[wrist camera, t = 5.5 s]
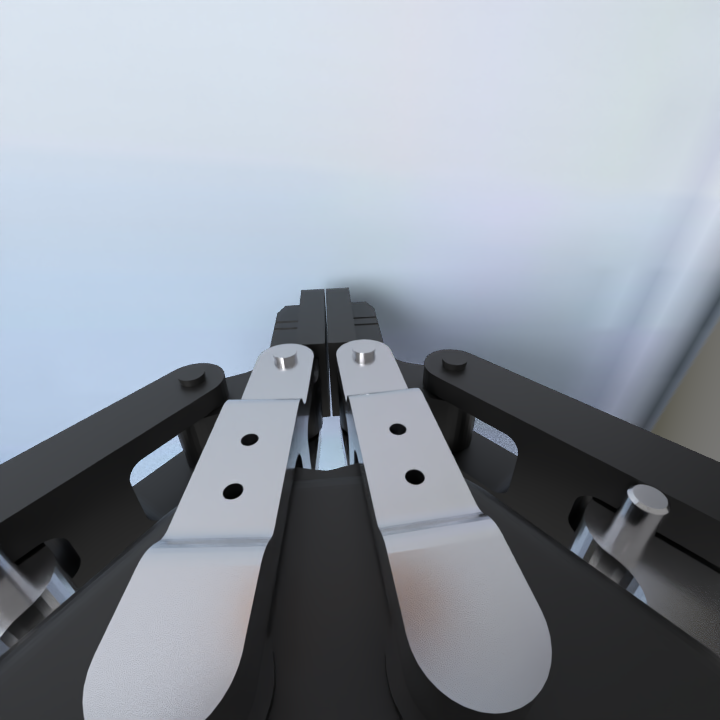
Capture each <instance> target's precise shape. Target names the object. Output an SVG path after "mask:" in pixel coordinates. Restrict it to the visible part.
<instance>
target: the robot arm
mask: <svg viewBox="0 0 720 720" xmlns="http://www.w3.org/2000/svg"><path fill="white" fill-rule="evenodd" d="M326 303H327V321H326V307H325V293H324V289H314V290H301V298H300V305H294V306H285V307H284V308H283V309H282V310H281V311H280V312H278V313H277V318H276V323H275V327H274V332H273V336H272V341H271V346H270V348H268V349H266V350H265V351H263V352H262V353H261V354H260V355H259V356H258V358H257V361H256V363H255V366H254V368H253V370H252V371H249V372H247V373H243V374H240V375H236V376H231V377H227V378H225V374H224V371H223V369H222V368H221V367H219V366H217V365H214V364H209V363H198V364H192V365H188V366H184V367H181V368H179V369H177V370H175V371H173V372H171V373H169V374H167V375H165V376H164V377H162V378H160V379H158V380H156V381H154V382H152V383H151V384H149V385H147V386H145V387H143V388H141V389H139V390H138V391H136V392H134V393H132V394H130V395H128V396H127V397H125V398H123V399H121V400H119V401H117V402H115V403H114V404H112V405H110V406H108V407H106V408H104V409H102V410H101V411H99V412H97V413H95V414H93V415H91V416H90V417H88V418H86V419H84V420H82V421H80V422H78V423H77V424H75V425H73V426H71V427H69V428H67V429H65V430H64V431H62V432H60V433H58V434H56V435H54V436H53V437H51V438H49V439H47V440H45V441H43V442H41V443H40V444H38V445H36V446H34V447H32V448H30V449H28V450H27V451H25V452H23V453H21V454H19V455H17V456H16V457H14V458H12V459H10V460H8V461H6V462H4V463H3V464H1V465H0V720H720V462H718V461H715V460H713V459H711V458H708V457H706V456H704V455H702V454H699V453H697V452H695V451H692V450H690V449H688V448H685V447H683V446H681V445H679V444H676V443H674V442H672V441H669V440H667V439H665V438H662V437H660V436H658V435H655V434H653V433H651V432H649V431H647V430H644V429H642V428H640V427H637V426H635V425H633V424H630V423H628V422H626V421H624V420H621V419H619V418H617V417H614V416H612V415H610V414H608V413H605V412H603V411H601V410H598V409H596V408H594V407H591V406H589V405H587V404H585V403H582V402H580V401H578V400H575V399H573V398H571V397H569V396H566V395H564V394H562V393H559V392H557V391H555V390H552V389H550V388H548V387H546V386H543V385H541V384H539V383H536V382H534V381H532V380H530V379H527V378H525V377H523V376H520V375H518V374H516V373H514V372H511V371H509V370H507V369H504V368H502V367H500V366H497V365H495V364H493V363H491V362H488V361H486V360H484V359H481V358H479V357H477V356H475V355H472V354H470V353H467V352H464V351H459V350H439V351H436V352H433V353H431V354H429V355H428V356H427V357H426V359H425V362H424V365H418V364H411V363H406V362H402V361H399V360H397V359H395V358H394V356H393V354H392V351H391V349H390V348H389V347H388V346H387V345H385V344H384V343H383V339H382V336H381V332H380V328H379V325H378V321H377V318H376V313H375V310H374V308H373V307H372V306H370V305H369V304H368V303H367V302H352V303H351V300H350V294H349V288H334V289H326ZM328 354H329V356H328ZM329 369H330V383H331V397H332V411H333V416H340V426H341V440H342V446H343V452H344V458H345V464H346V466H344V467H341V468H337V469H334V470H329V471H322V470H318V468H319V458H320V449H321V428H322V424H323V417H329V416H330V388H329ZM475 417H476V418H478V419H479V420H481V421H483V422H485V423H487V424H488V425H490V426H492V427H494V428H496V429H498V430H499V431H501V432H503V433H505V434H506V435H508V436H509V437H510V438H511V439H512V440H513V441H514V442H515V444H516V446H517V448H518V456H516V455H514V454H513V453H511V452H509V451H508V450H506V449H504V448H502V447H501V446H499V445H497V444H495V443H494V442H492V441H490V440H488V439H487V438H485V437H483V436H481V435H480V434H478V433H476V432H475V431H473V427H474V422H475ZM177 435H178V437H179V440H180V443H181V446H182V448H183V451H182V452H180V453H179V454H178V455H176V456H175V457H173V458H172V459H171V460H169V461H168V462H166V463H165V464H164V465H162V466H161V467H160V468H158V469H157V470H155V471H154V472H153V473H151V474H150V475H148V476H147V477H146V478H144V479H143V480H141V481H140V482H139V483H137V484H136V485H134V486H133V487H132V486H131V483H130V474H131V472H132V469H133V468H134V466H135V465H136V464H137V463H138V462H139V461H140V460H141V459H143V458H144V457H146V456H147V455H149V454H150V453H152V452H153V451H155V450H156V449H158V448H159V447H160V446H162V445H163V444H165V443H166V442H168V441H169V440H171V439H172V438H174V437H175V436H177Z"/></svg>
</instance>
